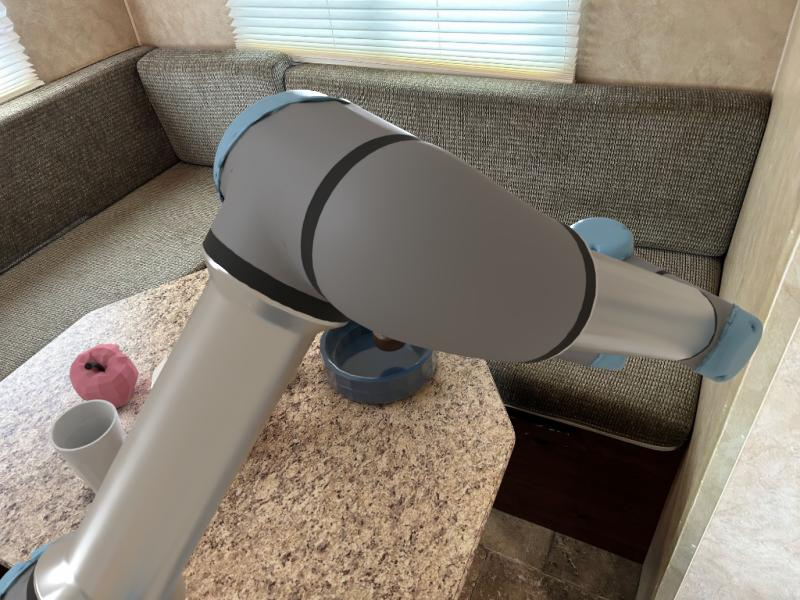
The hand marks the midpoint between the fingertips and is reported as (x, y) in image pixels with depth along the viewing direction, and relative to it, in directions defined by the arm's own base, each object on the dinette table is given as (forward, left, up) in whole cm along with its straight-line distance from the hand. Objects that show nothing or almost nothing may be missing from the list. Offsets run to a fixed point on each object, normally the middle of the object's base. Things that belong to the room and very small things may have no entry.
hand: (350, 284), depth 88 cm
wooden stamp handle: (+5, -2, -10) cm, 11 cm away
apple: (-38, -5, -15) cm, 41 cm away
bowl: (+3, -2, -14) cm, 15 cm away
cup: (-33, -20, -15) cm, 41 cm away
